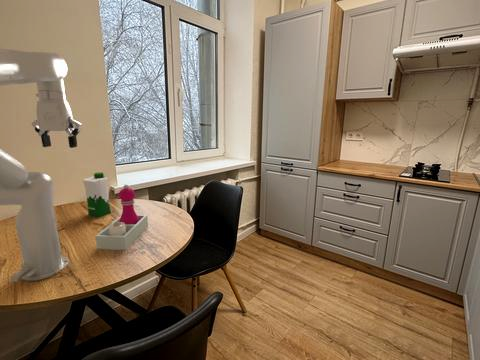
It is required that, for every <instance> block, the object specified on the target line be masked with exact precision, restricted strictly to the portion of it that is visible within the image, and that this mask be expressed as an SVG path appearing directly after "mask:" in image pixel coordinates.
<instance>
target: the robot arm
mask: <svg viewBox="0 0 480 360" xmlns="http://www.w3.org/2000/svg"><path fill="white" fill-rule="evenodd" d="M67 73H68V65H67V63H66V61H65V59H64V58H63V57H62V56H61V55H60V54H58V53H56V52H43V51H23V50H16V49H7V48H0V87H2V86H9V85H24V84H31V83H36V88H37V93H35V96H36V97H37V98H38V99H39V100H36V109H35V111H36V120H33V121H32V122H31V126H32V127H33V128H34V131H35V132H36V133H38V136H40V139H41V144H42V147H43V148H48V147H52V142H51V137H50V134H49V133H50V132H64V131H65V132H66V134H67V135H68V137H67V138H68V139H67V140H68V147H69V148H71V149H72V148H73V149H74V148H77V147H78V139H77V137H78V134H79V133H80V132H81V129H82V127H83V124H82V123H81V122H79V121H77V120H76V119H73V113H72V109H71V107H70V104H69V102H68V101H67V99H66V92H65V83H64V79H65V77H66V76H67ZM74 126H75V127H74ZM54 192H55V185H54V180H53V179H52V177H51V176H49V175H48V174H46V173H43V172H39V171H28V170H27V169H26V167H25V166H24V164H23V163H21V162H20V161H19V160H17V159H16V158H15V157H13V155H10V154H9V153H8V152H6V151H4V150H3V149H2V148H0V206H21V208H20V210H19V211H18V213H17V214H16V217H15V219H14V221H15V223H14V225H15V229H16V232H17V238H18V242H19V243H18V244H19V247H20V252H21V256H22V261H23V262H22V263H21V264H20V267H21V268H20V269H19V271H18V272H16V273H15V274H14V275H12V276H10V280H11V281H12V282H13V283H16V282H18V281H19V280H23V281H27V282H33V281H42V280H45V279H48V278H51V277H54V276H56V275H58V274H59V272H60V271H61V270H62V269H64V268H65V267H66V266H68V264H69V258H68V257H66V256H64V255H62V249H61V243H60V238H59V232H58V226H57V221H56V216H55V215H56V214H55V207H54V194H55V193H54Z"/></svg>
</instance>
